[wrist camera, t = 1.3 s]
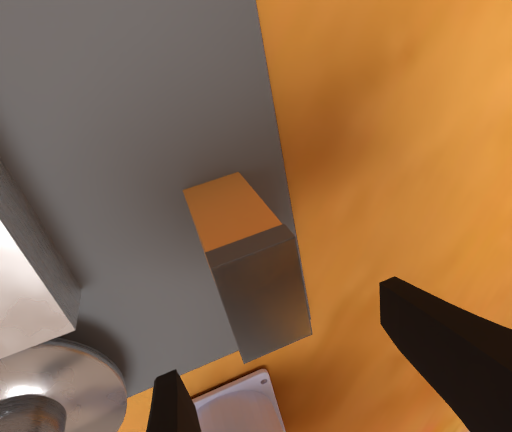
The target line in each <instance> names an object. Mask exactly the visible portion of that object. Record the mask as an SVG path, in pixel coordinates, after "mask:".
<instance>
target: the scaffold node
mask: <svg viewBox="0 0 512 432" xmlns="http://www.w3.org/2000/svg"><path fill="white" fill-rule="evenodd" d="M81 292H82V288H81V287H80V285H79V283H78V282H77V280H76V278H75V277H74V275H73V274H72V272H71V270H70V269H69V267H68V265H67V264H66V262H65V261H64V259H63V257H62V256H61V254H60V253H59V251H58V249H57V248H56V246H55V244H54V243H53V241H52V240H51V238H50V236H49V235H48V233H47V231H46V230H45V228H44V227H43V225H42V223H41V222H40V220H39V218H38V217H37V215H36V214H35V212H34V210H33V209H32V207H31V206H30V204H29V202H28V201H27V199H26V197H25V196H24V194H23V193H22V191H21V189H20V188H19V186H18V184H17V183H16V181H15V180H14V178H13V176H12V175H11V173H10V172H9V170H8V168H7V167H6V165H5V163H4V162H3V160H2V159H1V157H0V432H117V431H118V429H119V428H120V426H121V424H122V422H123V420H124V417H125V414H126V407H127V391H126V383H125V379H124V377H123V375H122V373H121V371H120V369H119V368H118V367H117V365H116V364H115V363H114V362H113V361H112V360H111V359H110V358H108V357H107V356H106V355H104V354H103V353H101V352H100V351H98V350H96V349H94V348H92V347H90V346H88V345H85V344H82V343H79V342H76V341H71V340H67V339H63V338H56V337H59V336H62V335H64V334H67V333H69V332H72V331H75V330H76V324H77V318H78V311H79V305H80V299H81Z"/></svg>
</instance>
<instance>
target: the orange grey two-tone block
mask: <svg viewBox="0 0 512 432" xmlns="http://www.w3.org/2000/svg"><path fill="white" fill-rule="evenodd" d="M183 193H184V196H185V199H186V202H187V205H188V207H189V210H190V213H191V216H192V219H193V222H194V225H195V227H196V230H197V233H198V236H199V239H200V242H201V245H202V248H203V250H204V253H205V256H206V259H207V262H208V265H209V268H210V270H211V273H212V276H213V278H214V281H215V284H216V286H217V289H218V292H219V295H220V297H221V300H222V303H223V306H224V309H225V312H226V315H227V318H228V320H229V323H230V326H231V329H232V332H233V335H234V338H235V341H236V343H237V346H238V349H239V352H240V354H241V357H242V360H243V363H244V364H245V363H247V362H250V361H252V360H254V359H257V358H259V357H261V356H263V355H266V354H268V353H270V352H273V351H275V350H277V349H280V348H282V347H284V346H286V345H289V344H291V343H293V342H296V341H298V340H300V339H302V338H305V337H307V336H309V335H312V328H311V322H310V317H309V311H308V305H307V299H306V294H305V288H304V282H303V277H302V271H301V265H300V260H299V254H298V248H297V242H296V237H295V235H294V234H293V233H292V232H291V231H290V230H289V228H288V227H287V226H286V225H285V224H282V223H281V222H280V220H279V219H278V218H277V217H276V216H275V215H274V213H273V212H272V211H271V210H270V209H269V207H268V206H267V205H266V204H265V203H264V201H263V200H262V199H261V198H260V197H259V195H258V194H257V193H256V192H255V191H254V190H253V188H252V187H251V186H250V185H249V184H248V182H247V181H246V180H245V179H244V178H243V176H242V175H241V174H240V173H239V172H236V173H233V174H230V175H227V176H224V177H221V178H218V179H215V180H212V181H209V182H206V183H203V184H200V185H197V186H194V187H191V188H187V189H184V190H183Z"/></svg>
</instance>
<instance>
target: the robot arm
mask: <svg viewBox="0 0 512 432" xmlns="http://www.w3.org/2000/svg"><path fill="white" fill-rule="evenodd" d="M379 285H380V322H381V325H382V327H383V328H384V329H385V331H386V332H387V334H388V335H389V337H390V338H391V340H392V341H393V342H394V344H395V345H396V346H397V348H398V349H399V350H400V351H401V353H402V354H403V355H404V356H405V357H406V358H407V359H408V361H409V362H410V363H411V364H412V365H413V366H414V367H415V368H416V370H417V371H418V372H419V373H420V374H421V375H422V376H423V377H424V378H425V379H426V381H427V382H428V383H429V384H430V385H431V386H432V387H433V388H434V389H435V390H436V392H437V393H438V394H439V395H440V396H441V397H442V398H443V399H444V400H445V402H446V403H447V404H448V405H449V406H450V407H451V408H452V410H453V411H454V412H455V413H456V414H457V416H458V417H459V418H460V419H461V420H462V422H463V423H464V424H465V426H466V427H467V428H468V430H469V431H470V432H512V329H509V328H506V327H504V326H501V325H499V324H496V323H494V322H491V321H489V320H487V319H484V318H482V317H479V316H477V315H475V314H472V313H470V312H468V311H466V310H463V309H461V308H459V307H457V306H455V305H452V304H450V303H448V302H446V301H444V300H442V299H440V298H438V297H436V296H434V295H432V294H429V293H427V292H425V291H423V290H421V289H419V288H417V287H415V286H413V285H411V284H409V283H407V282H405V281H403V280H401V279H399V278H397V277H392V278H390V279H387V280H385V281H383V282H380V283H379ZM146 432H286V431H285V428H284V424H283V421H282V417H281V414H280V411H279V407H278V404H277V401H276V397H275V394H274V390H273V387H272V384H271V380H270V377H269V374H268V372H267V370H266V369H260V370H258V371H255V372H253V373H251V374H249V375H246V376H244V377H242V378H240V379H237V380H235V381H233V382H230V383H228V384H226V385H224V386H221V387H219V388H217V389H215V390H212V391H210V392H208V393H206V394H203V395H201V396H199V397H197V398H194V399H191V397H190V395H189V393H188V391H187V389H186V387H185V386H184V384H183V382H182V380H181V378H180V376H179V374H178V372H177V370H176V369H175V370H172V371H170V372H167V373H165V374H163V375H160V376H158V377H156V379H155V381H154V388H153V395H152V402H151V409H150V414H149V420H148V425H147V430H146Z"/></svg>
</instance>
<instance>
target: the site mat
mask: <svg viewBox="0 0 512 432" xmlns="http://www.w3.org/2000/svg"><path fill="white" fill-rule="evenodd" d="M0 157H1V159H2V160H3V162H4V163H5V165H6V167H7V168H8V170H9V172H10V173H11V175H12V176H13V178H14V180H15V181H16V183H17V184H18V186H19V188H20V189H21V191H22V193H23V194H24V196H25V197H26V199H27V201H28V202H29V204H30V206H31V207H32V209H33V210H34V212H35V214H36V215H37V217H38V218H39V220H40V222H41V223H42V225H43V227H44V228H45V230H46V231H47V233H48V235H49V236H50V238H51V240H52V241H53V243H54V244H55V246H56V248H57V249H58V251H59V253H60V254H61V256H62V257H63V259H64V261H65V262H66V264H67V265H68V267H69V269H70V270H71V272H72V274H73V275H74V277H75V278H76V280H77V282H78V283H79V285H80V287H81V288H82V292H81V299H80V305H79V311H78V318H77V324H76V330H75V331H72V332H69V333H67V334H64V335H62V336H59V337H56V338H63V339H67V340H71V341H76V342H79V343H82V344H85V345H88V346H90V347H92V348H94V349H96V350H98V351H100V352H101V353H103V354H104V355H106V356H107V357H108V358H110V359H111V360H112V361H113V362H114V363H115V364H116V365H117V367H118V368H119V369H120V371H121V373H122V375H123V377H124V379H125V383H126V391H127V398H128V397H131V396H133V395H135V394H138V393H140V392H142V391H145V390H147V389H149V388H152V387H154V381H155V379H156V377H158V376H160V375H163V374H165V373H167V372H170V371H172V370H175V369H176V370H177V372H178V374H179V376H180V375H182V374H184V373H187V372H189V371H191V370H194V369H196V368H199V367H201V366H203V365H206V364H208V363H210V362H213V361H215V360H217V359H220V358H222V357H224V356H227V355H229V354H231V353H234V352H236V351H238V350H239V349H238V346H237V343H236V341H235V338H234V335H233V332H232V329H231V326H230V323H229V320H228V318H227V315H226V312H225V309H224V306H223V303H222V300H221V297H220V295H219V292H218V289H217V286H216V284H215V281H214V278H213V276H212V273H211V270H210V268H209V265H208V262H207V259H206V256H205V253H204V250H203V248H202V245H201V242H200V239H199V236H198V233H197V230H196V227H195V225H194V222H193V219H192V216H191V213H190V210H189V207H188V205H187V202H186V199H185V196H184V193H183V190H184V189H187V188H191V187H194V186H197V185H200V184H203V183H206V182H209V181H212V180H215V179H218V178H221V177H224V176H227V175H230V174H233V173H236V172H239V173H240V174H241V175H242V176H243V178H244V179H245V180H246V181H247V182H248V184H249V185H250V186H251V187H252V188H253V190H254V191H255V192H256V193H257V194H258V195H259V197H260V198H261V199H262V200H263V201H264V203H265V204H266V205H267V206H268V207H269V209H270V210H271V211H272V212H273V213H274V215H275V216H276V217H277V218H278V219H279V220H280V222H281V223H282V224H285V225H286V226H287V227H288V228H289V230H290V231H291V232H292V233H293V234H294V235H295V237H296V242H297V236H296V231H295V225H294V219H293V213H292V207H291V202H290V196H289V190H288V184H287V179H286V173H285V167H284V161H283V156H282V150H281V144H280V138H279V132H278V127H277V121H276V115H275V109H274V104H273V98H272V92H271V86H270V81H269V75H268V69H267V63H266V57H265V52H264V46H263V40H262V34H261V29H260V23H259V17H258V11H257V6H256V0H0ZM297 248H298V242H297ZM298 254H299V248H298ZM299 260H300V265H301V259H300V254H299ZM301 271H302V265H301ZM302 277H303V271H302ZM303 282H304V277H303ZM304 288H305V283H304ZM305 294H306V288H305ZM306 299H307V294H306ZM307 305H308V300H307ZM308 311H309V306H308ZM309 317H310V311H309ZM310 320H311V317H310Z"/></svg>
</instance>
